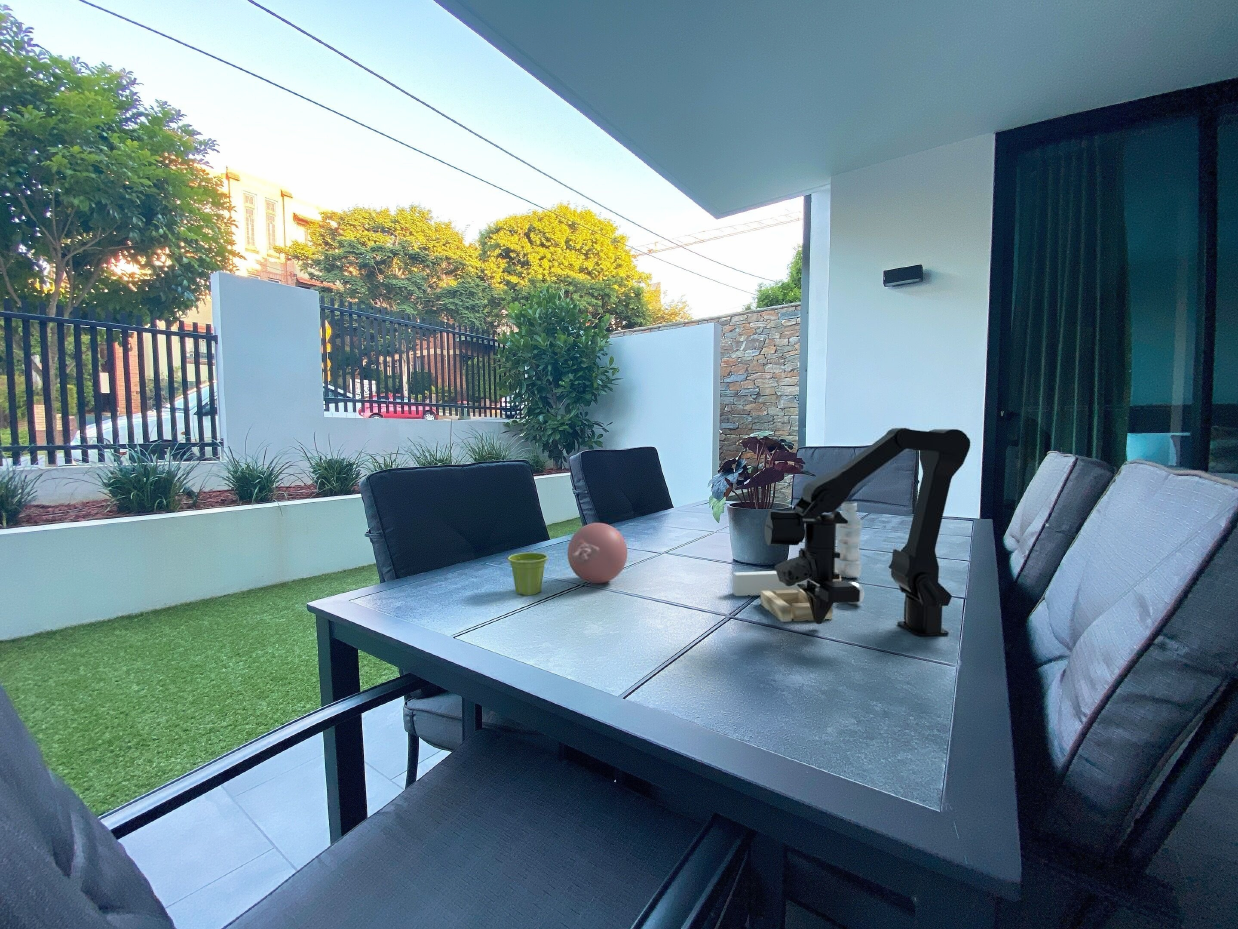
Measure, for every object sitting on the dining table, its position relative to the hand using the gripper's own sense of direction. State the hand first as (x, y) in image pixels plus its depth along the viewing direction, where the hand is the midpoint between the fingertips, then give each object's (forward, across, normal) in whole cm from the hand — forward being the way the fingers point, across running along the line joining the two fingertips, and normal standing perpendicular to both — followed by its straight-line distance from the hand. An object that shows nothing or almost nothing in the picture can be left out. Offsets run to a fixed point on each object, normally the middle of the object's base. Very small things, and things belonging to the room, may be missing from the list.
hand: (818, 623), depth 102 cm
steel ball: (-2, -13, +15) cm, 20 cm away
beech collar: (+1, -10, 0) cm, 10 cm away
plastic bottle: (+1, -33, +26) cm, 42 cm away
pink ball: (+1, -35, -42) cm, 55 cm away
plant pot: (+1, -31, -58) cm, 66 cm away
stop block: (+1, -22, 0) cm, 22 cm away
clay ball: (-2, -24, +16) cm, 29 cm away
